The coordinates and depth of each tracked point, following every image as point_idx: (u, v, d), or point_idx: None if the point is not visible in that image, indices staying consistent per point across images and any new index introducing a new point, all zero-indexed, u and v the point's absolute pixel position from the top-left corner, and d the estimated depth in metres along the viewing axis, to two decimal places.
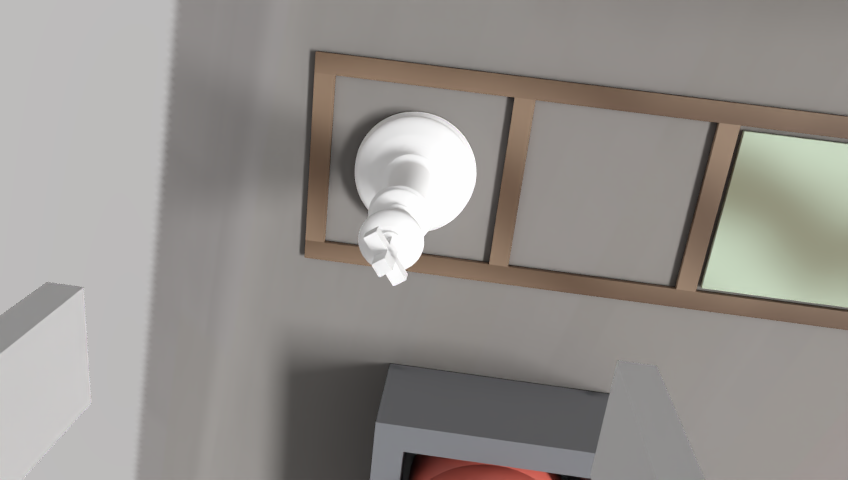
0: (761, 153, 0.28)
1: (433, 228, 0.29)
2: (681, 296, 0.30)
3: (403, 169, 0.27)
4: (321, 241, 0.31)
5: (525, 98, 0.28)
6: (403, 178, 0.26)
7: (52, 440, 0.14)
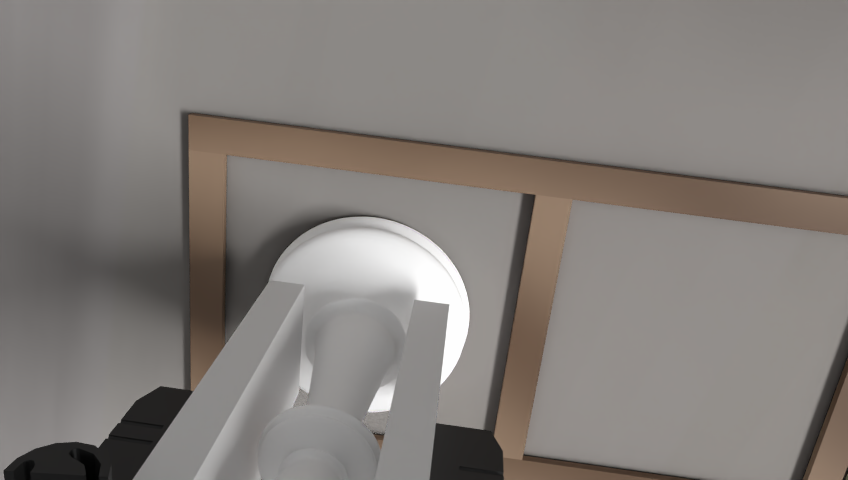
0: None
1: None
2: None
3: (339, 332, 0.15)
4: None
5: (554, 196, 0.16)
6: (336, 357, 0.14)
7: None
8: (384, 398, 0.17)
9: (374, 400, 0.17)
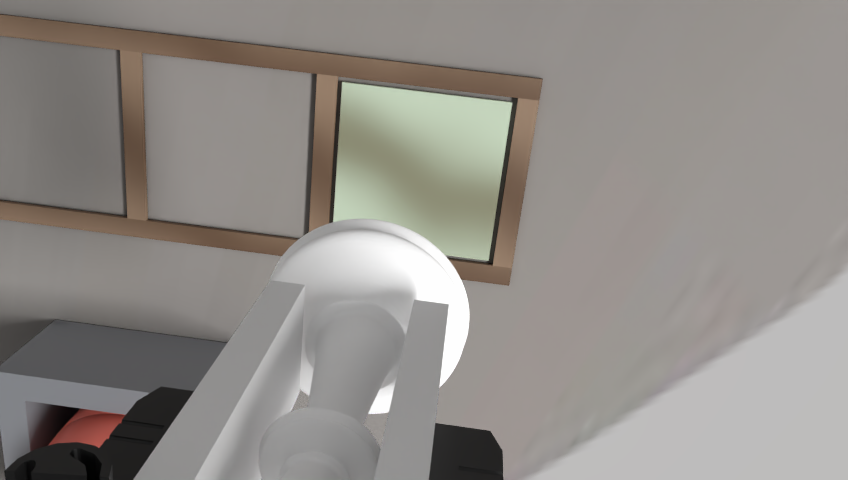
0: (362, 104, 0.28)
1: None
2: None
3: (339, 334, 0.15)
4: None
5: (130, 51, 0.28)
6: (336, 359, 0.14)
7: None
8: (384, 399, 0.17)
9: (374, 402, 0.17)
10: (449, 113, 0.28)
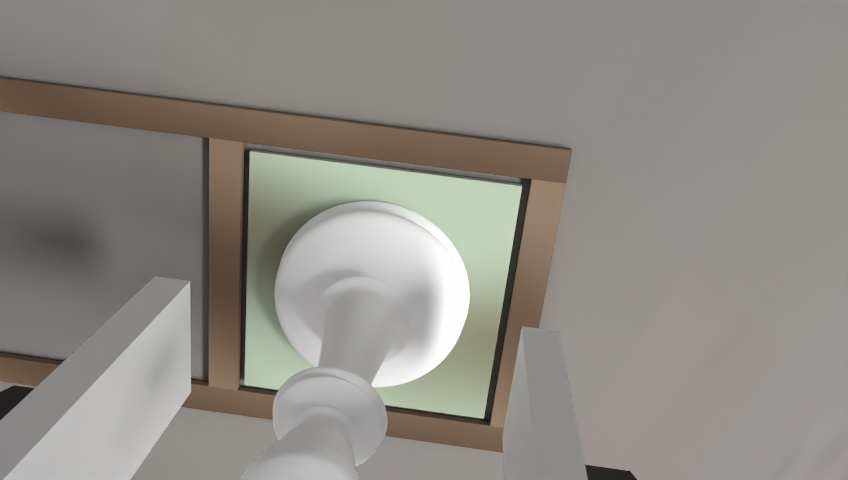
0: (283, 185, 0.18)
1: (400, 383, 0.18)
2: (218, 396, 0.20)
3: (347, 306, 0.16)
4: None
5: None
6: (345, 329, 0.15)
7: (163, 426, 0.15)
8: (388, 373, 0.18)
9: (378, 375, 0.18)
10: (421, 202, 0.18)
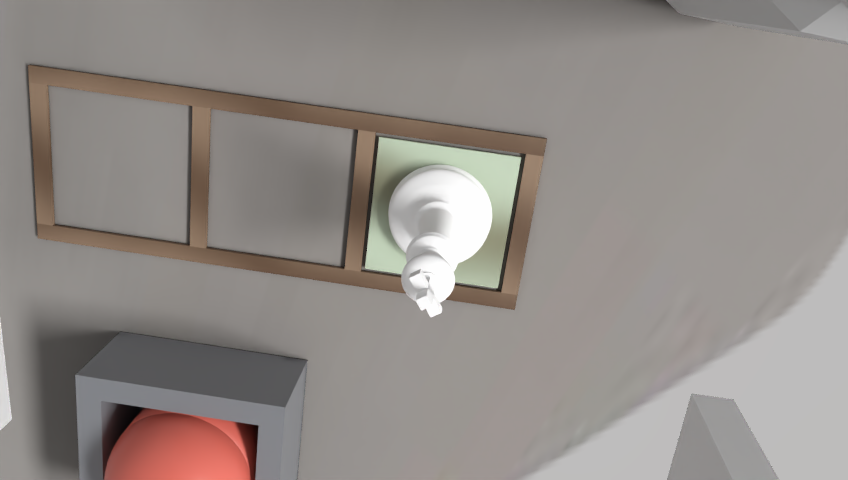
0: (395, 155, 0.34)
1: None
2: (349, 275, 0.36)
3: (433, 215, 0.32)
4: (51, 225, 0.36)
5: (201, 106, 0.34)
6: (434, 223, 0.31)
7: None
8: None
9: None
10: (468, 165, 0.34)
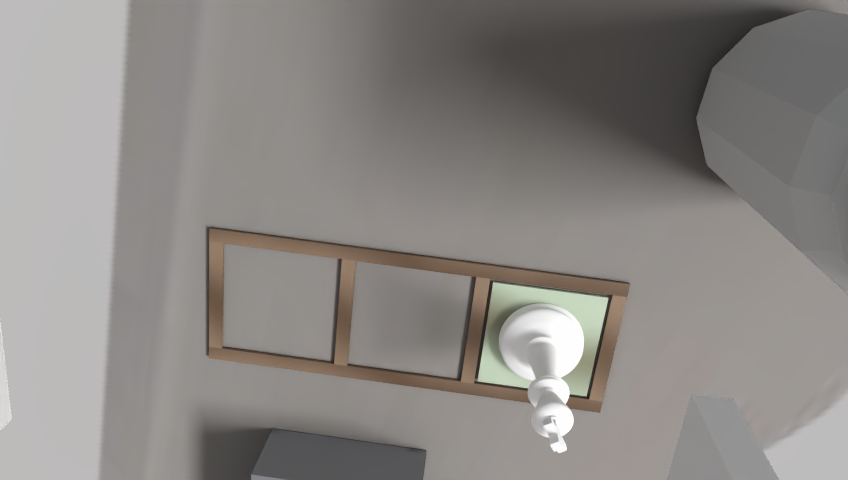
0: (505, 296, 0.42)
1: None
2: (464, 386, 0.44)
3: (541, 349, 0.40)
4: (220, 347, 0.45)
5: (348, 259, 0.42)
6: (543, 359, 0.39)
7: None
8: None
9: None
10: (565, 303, 0.42)
